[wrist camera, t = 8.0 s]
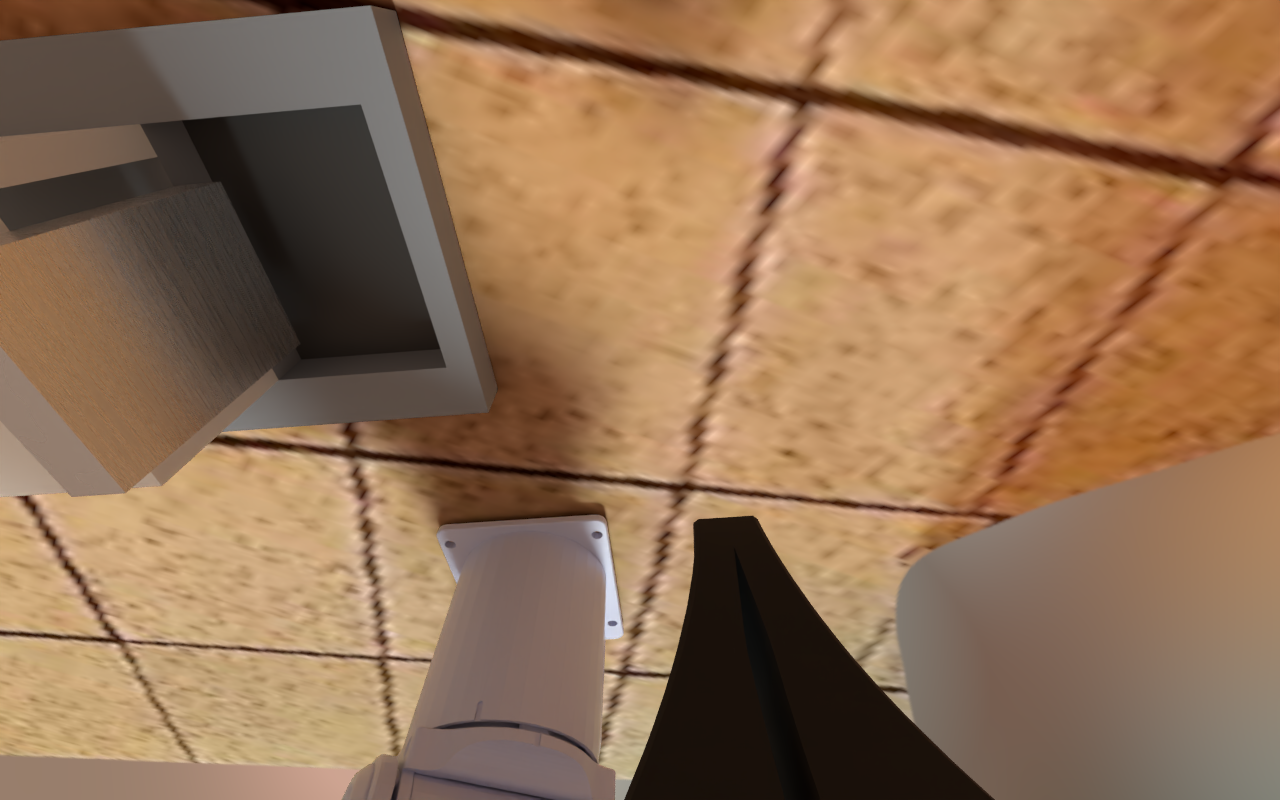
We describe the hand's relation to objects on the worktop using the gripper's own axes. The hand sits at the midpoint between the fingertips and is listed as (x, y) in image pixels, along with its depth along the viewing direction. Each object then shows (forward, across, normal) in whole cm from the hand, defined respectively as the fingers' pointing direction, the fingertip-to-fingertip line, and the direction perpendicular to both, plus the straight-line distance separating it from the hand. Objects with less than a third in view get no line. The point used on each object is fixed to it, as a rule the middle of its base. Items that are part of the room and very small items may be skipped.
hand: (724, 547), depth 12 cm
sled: (+8, +21, -5) cm, 23 cm away
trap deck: (+9, +19, -5) cm, 22 cm away
